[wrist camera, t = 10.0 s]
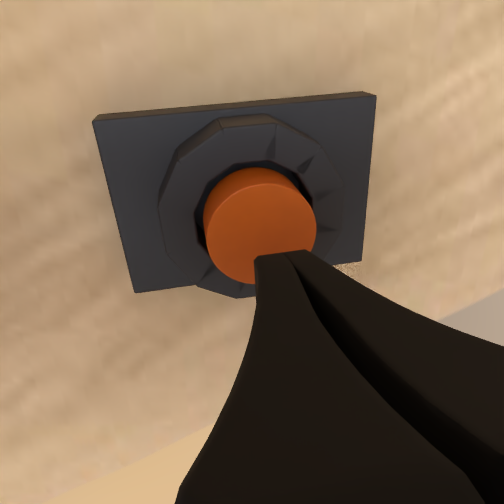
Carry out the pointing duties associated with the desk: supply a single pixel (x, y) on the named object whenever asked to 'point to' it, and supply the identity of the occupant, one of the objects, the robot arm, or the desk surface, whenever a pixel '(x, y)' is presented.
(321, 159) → the control block
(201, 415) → the desk surface
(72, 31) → the desk surface
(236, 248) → the button
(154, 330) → the desk surface
